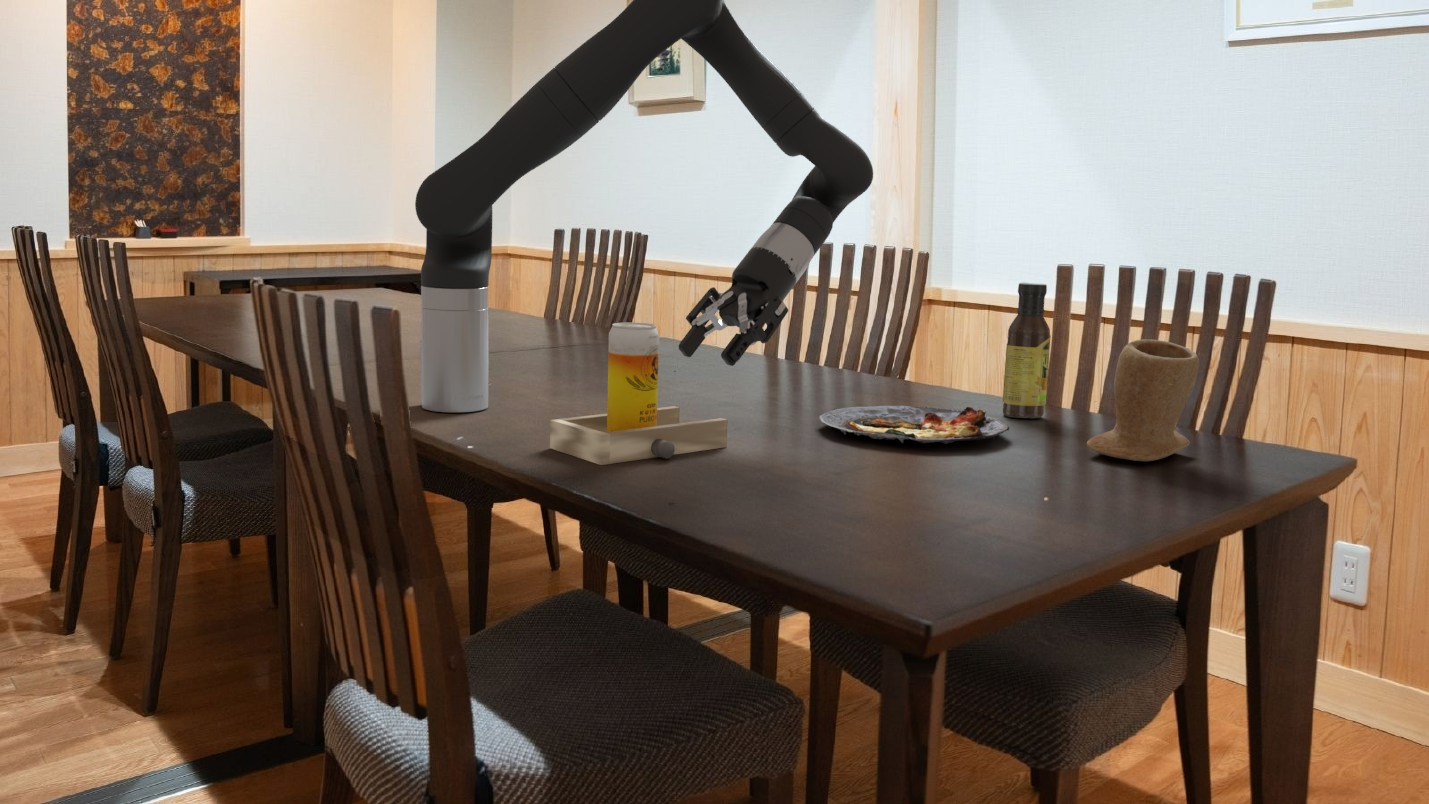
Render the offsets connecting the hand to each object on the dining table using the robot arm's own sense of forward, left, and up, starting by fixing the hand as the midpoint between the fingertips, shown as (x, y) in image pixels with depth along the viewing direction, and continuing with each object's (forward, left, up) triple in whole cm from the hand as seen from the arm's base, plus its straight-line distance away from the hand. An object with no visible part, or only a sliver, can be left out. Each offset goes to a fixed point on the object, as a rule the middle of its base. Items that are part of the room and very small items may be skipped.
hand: (704, 357), depth 154 cm
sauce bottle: (+12, +53, -11) cm, 55 cm away
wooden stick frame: (0, -9, -11) cm, 14 cm away
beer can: (0, -11, -11) cm, 15 cm away
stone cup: (+38, +42, -11) cm, 58 cm away
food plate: (+12, +28, -11) cm, 32 cm away
